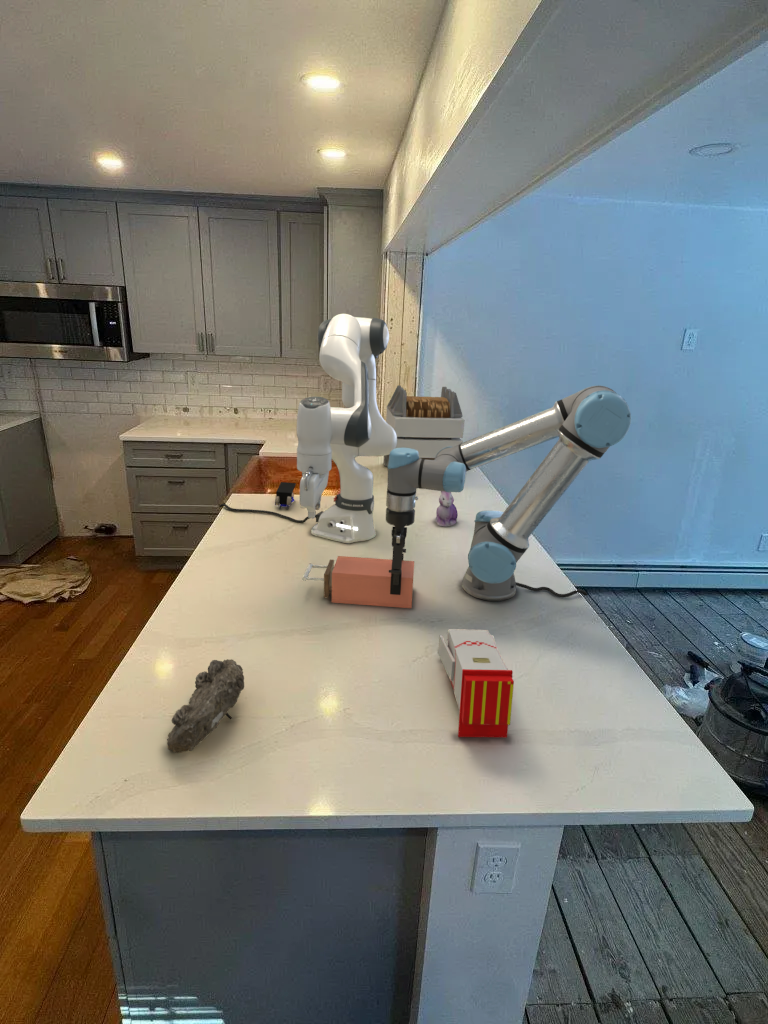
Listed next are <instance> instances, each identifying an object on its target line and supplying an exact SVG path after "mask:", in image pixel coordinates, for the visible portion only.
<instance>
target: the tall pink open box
mask: <svg viewBox="0 0 768 1024" xmlns="http://www.w3.org/2000/svg"><path fill="white" fill-rule="evenodd" d="M391 569H392V559H390V558H389V559H388V558H376V557H375V558H373V557H362V556H361V557H359V556H346V555H345V556H344V555H337V557H336V561H335V562H334V568H333V571H332V589H331V603H334V604H335V603H336V604H346V605H361V606H373V607H375V606H376V607H389V608H400V609H412V604H413V591H414V574H415V560H405V559H403V560H402V566H401V570H402V576H401V593H400V595H394V594H390V586H391V573H389V570H391Z"/></svg>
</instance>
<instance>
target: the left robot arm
mask: <svg viewBox="0 0 768 1024" xmlns="http://www.w3.org/2000/svg"><path fill="white" fill-rule="evenodd" d="M389 340H390V332H389V328H388V324H387V323H386V321H385V320H384V319H381V318H378V317H360V316H353V315H351V314H349V313H339V314H335V315H334V316H333V317H332V318H329V319H326V320H324V321H322V322H321V323H320V324H319V326H318V330H317V342H318V346H319V355H318V360H319V364H320V366H321V368H322V370H323V371H324V372H325V373H326V374H327V375H328V376H329V377H330V378H332V379H333V380H336V381H339V382H341V402H342V404H343V406H344V407H337V406H331V403H330V400H329V399H328V398H325V397H323V396H309V397H308V396H307V397H304V398H302V399H301V400H300V401H299V403H298V407H297V415H296V437H297V446H296V469H297V471H299V472H301V478H300V482H299V500H298V501H299V502H298V503H299V507H300V508H301V509H306V511H307V516H306V517H305V518H304V519H302V520H300V519H295V518H293V517H290V516H288V515H284V514H282V513H279V512H275V511H271V510H262V509H251V508H250V509H249V508H248V509H247V508H234V507H230V506H229V505H227V504H226V503H221V504H219V506H218V508H223V507H224V508H226V510H229V511H232V512H241V513H257V514H268V515H273V516H277V517H280V518H283V519H286V520H289V521H292V522H294V523H297V524H303V523H306V522H307V521H308V520H311V519H315V524H314V525H313V526H312V528H311V530H310V533H311V536H315V537H319V538H323V539H326V540H330V541H336V542H339V543H343V544H352V543H357V542H365V541H368V540H372V539H373V538H375V537H376V535H377V532H376V528H375V523H374V513H373V512H374V509H375V496H374V474H373V472H372V471H371V469H369V468H368V467H366V466H364V465H362V464H360V463H359V462H358V461H357V460H356V458H357V457H369V458H370V457H371V458H372V457H373V458H375V457H376V458H378V457H384V455H389V454H390V452H391V451H392V450H393V449H395V448H396V445H397V435H396V432H395V430H394V429H393V428H392V427H391V426H390V425H389V424H388V423H387V422H386V419H384V417H383V416H382V414H381V412H380V410H379V406H378V400H377V365H376V359H378V358H379V356H380V355H381V354H383V353H384V352H385V351H386V349H387V348H388V344H389ZM332 461H333V462H334V464H335V465H336V467H337V470H338V474H339V483H340V484H339V485H340V488H339V489H340V490H339V491H338V492H337V494H336V495H335V496H334V497H333V502H334V504H333V505H331V506H329V507H328V508H326V509H325V510H321V511H319V510H320V509H321V501H322V496H323V493H324V491H325V490H326V488H327V487H328V484H329V475H330V471H331V470H332V465H333V464H332V463H333V462H332ZM317 511H319V512H318V513H317Z"/></svg>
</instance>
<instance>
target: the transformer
mask: <svg viewBox="0 0 768 1024" xmlns="http://www.w3.org/2000/svg"><path fill="white" fill-rule="evenodd" d="M440 393H441V394H440V396H415V395H414V396H413V395H412V396H411V395H407V394H408V393H407V390H406V389H404V388H403V387H402V385H399V384H398V385H397V386H396V388H395V390H394V392H393V394H392V395H391V398H390V400H389V402H388V404H387V405H386V413H385V414H386V415H385V421H386V422H387V423H388V424H389V425H390V426H391V427H392V428H393V429H394V430H395V432H396V435H397V445H396V448H410V449H415V450H417V451H418V453H419V458H421V459H426V460H434V459H435V457H436V455H437V453H438V452H439V451H440V450H442V449H443V448H445V447H454V446H456V445H459V444H461V443H464V441H463V440H462V439H463V438H464V431H465V430H464V429H465V419H464V418H463V411H462V408H461V405H460V402H459V398H458V395H457V392H455V391H453V390H452V389H451V388H447V386H442V387H441V392H440ZM388 464H389V455H384V456H383V466H384V467H387V468H388Z"/></svg>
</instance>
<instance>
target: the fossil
mask: <svg viewBox="0 0 768 1024" xmlns="http://www.w3.org/2000/svg"><path fill="white" fill-rule="evenodd" d="M243 670H244V669H243V667H242V665H240V664H237V662H236V661H235V660H234V659H232V658H231V659H227V658H226V659H224V660H223V661H222V660H217V659H212V660H211V661H210V663H209V665H208V666H207V671H201V672H199V673H198V674H197V675H196V676H195V680H194V684H195V685H194V687H195V689H194V690H193V693H192V694H191V697H190V698H189V700H188V704H184V705H182V706H181V707H180V709H177V710H176V711H175V713H174V715H173V716H172V718H171V723H172V724H173V727H172V730H171V731H170V732H168V734H167V738H166V741H167V742H166V745H167V749H168V750H169V751H173V752H174V753H176V754H178V753H182V752H188V751H189V752H192V751H193V750H195V748H196V747H197V746H199V744H200V743H201V742H203V741H204V740H205V739H206V738H207V737H208V736H209V735H210V734H211V733H212V732H214V730H215V729H217V727H218V726H219V724H220V722H221V721H222V720H223V719H224V718H225V716H226V717H227V719H229V720H233V717H232V715H230V714H229V710H230V709H231V708H234V706H235V704H236V703H237V702H238V699H239V697H240V695H241V693H242V691H243V690H245V689H244V688H245V675H244V671H243Z"/></svg>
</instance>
